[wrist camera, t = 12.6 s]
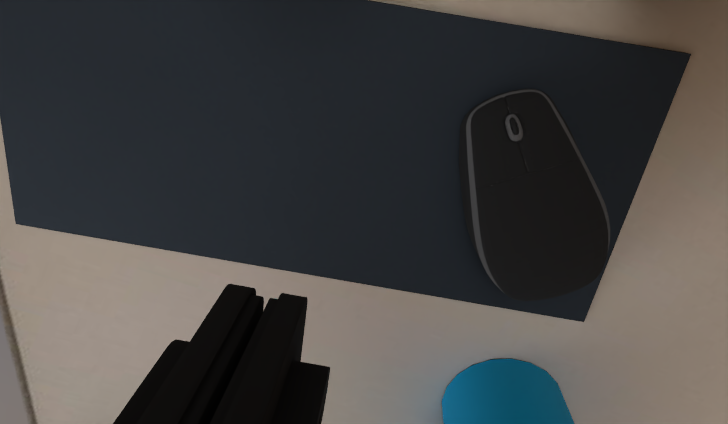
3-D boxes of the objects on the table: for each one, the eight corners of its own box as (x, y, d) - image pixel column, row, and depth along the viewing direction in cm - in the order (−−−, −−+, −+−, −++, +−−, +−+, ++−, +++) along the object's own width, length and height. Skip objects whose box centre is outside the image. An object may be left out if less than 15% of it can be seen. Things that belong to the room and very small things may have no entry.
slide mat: (-23, -65, 24) (-27, -65, 24) (689, 53, 24) (691, 53, 23) (18, 222, 30) (15, 223, 30) (582, 320, 30) (584, 322, 30)
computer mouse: (568, 68, 24) (598, 78, 20) (606, 272, 28) (637, 311, 25) (433, 112, 25) (438, 129, 22) (488, 301, 30) (501, 342, 26)
